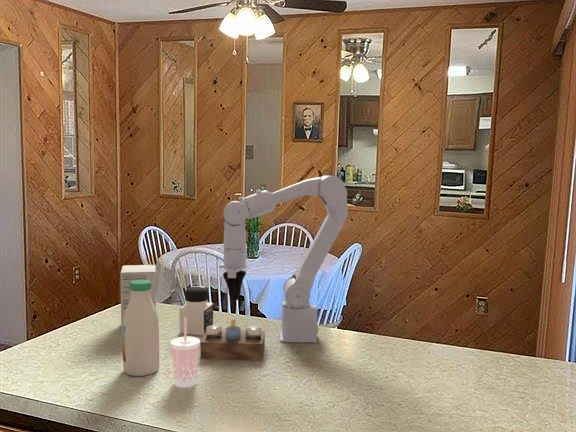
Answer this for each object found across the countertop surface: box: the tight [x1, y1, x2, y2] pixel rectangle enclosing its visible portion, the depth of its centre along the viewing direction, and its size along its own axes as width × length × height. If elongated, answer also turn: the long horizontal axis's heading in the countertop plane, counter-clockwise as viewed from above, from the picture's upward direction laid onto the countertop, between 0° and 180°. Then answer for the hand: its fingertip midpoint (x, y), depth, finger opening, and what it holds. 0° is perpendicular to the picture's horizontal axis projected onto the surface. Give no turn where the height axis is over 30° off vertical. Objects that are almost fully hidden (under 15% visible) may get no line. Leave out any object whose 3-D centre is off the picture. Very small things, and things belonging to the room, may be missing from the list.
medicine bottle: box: [179, 285, 214, 336], centre depth 145 cm, size 7×7×12 cm
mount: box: [200, 329, 266, 361], centre depth 130 cm, size 14×9×4 cm, turn 89°
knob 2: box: [245, 325, 262, 340], centre depth 129 cm, size 4×4×6 cm
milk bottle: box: [122, 280, 160, 377], centre depth 117 cm, size 8×8×20 cm
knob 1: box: [206, 324, 223, 339], centre depth 130 cm, size 4×4×6 cm
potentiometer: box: [225, 319, 241, 340], centre depth 128 cm, size 3×3×4 cm
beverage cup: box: [170, 317, 201, 388], centre depth 111 cm, size 6×6×14 cm
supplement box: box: [119, 264, 157, 335], centre depth 146 cm, size 10×9×17 cm
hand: (234, 299), depth 139 cm, fingers closed
